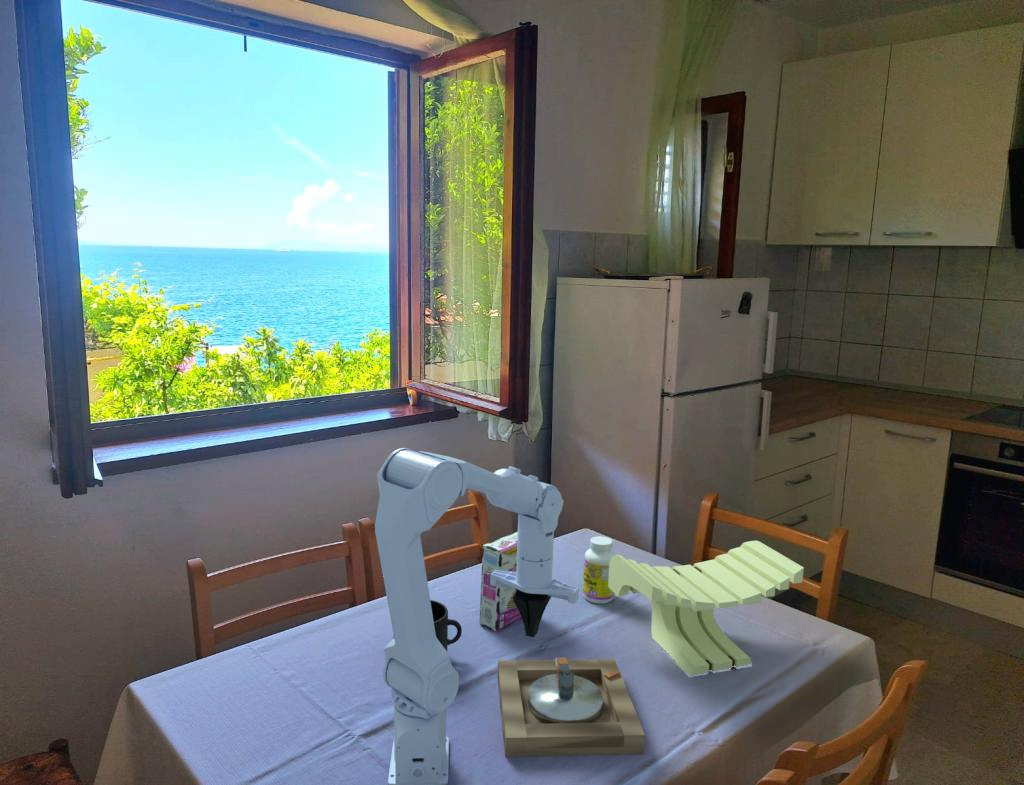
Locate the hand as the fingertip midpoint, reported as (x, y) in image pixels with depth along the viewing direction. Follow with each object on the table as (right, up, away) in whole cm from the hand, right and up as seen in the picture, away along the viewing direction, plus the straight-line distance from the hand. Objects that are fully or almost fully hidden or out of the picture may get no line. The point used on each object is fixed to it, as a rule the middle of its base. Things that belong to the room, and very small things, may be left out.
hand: (531, 633), depth 115 cm
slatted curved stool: (+31, -8, +16) cm, 36 cm away
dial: (+5, -10, -4) cm, 12 cm away
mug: (-18, -8, +10) cm, 22 cm away
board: (+5, -11, -4) cm, 13 cm away
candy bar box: (-4, -6, +25) cm, 26 cm away
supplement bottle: (+15, -5, +35) cm, 39 cm away
